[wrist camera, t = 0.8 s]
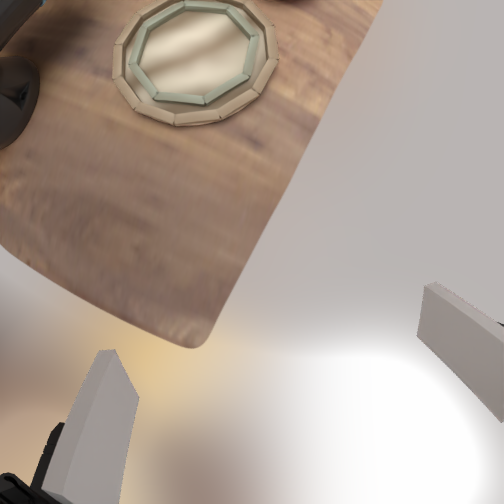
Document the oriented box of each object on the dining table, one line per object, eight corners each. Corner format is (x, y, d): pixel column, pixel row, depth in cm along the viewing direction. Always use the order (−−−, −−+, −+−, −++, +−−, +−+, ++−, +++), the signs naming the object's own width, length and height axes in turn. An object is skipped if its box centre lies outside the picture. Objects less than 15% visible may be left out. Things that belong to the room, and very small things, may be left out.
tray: (96, 53, 26) (88, 46, 24) (218, -20, 25) (219, -30, 22) (171, 157, 32) (167, 156, 30) (303, 74, 31) (309, 68, 28)
